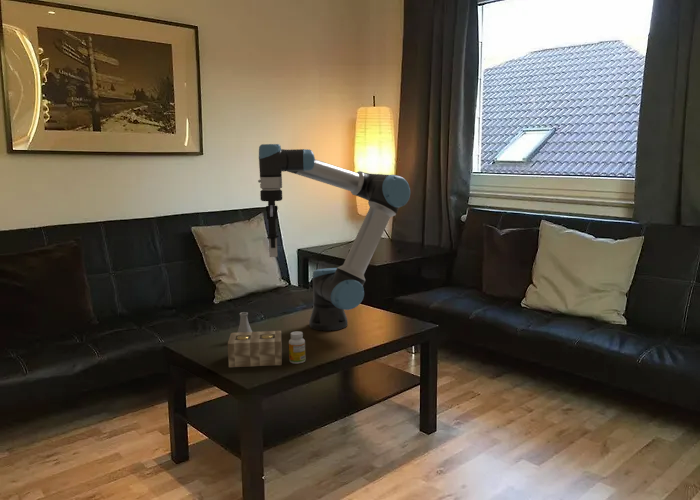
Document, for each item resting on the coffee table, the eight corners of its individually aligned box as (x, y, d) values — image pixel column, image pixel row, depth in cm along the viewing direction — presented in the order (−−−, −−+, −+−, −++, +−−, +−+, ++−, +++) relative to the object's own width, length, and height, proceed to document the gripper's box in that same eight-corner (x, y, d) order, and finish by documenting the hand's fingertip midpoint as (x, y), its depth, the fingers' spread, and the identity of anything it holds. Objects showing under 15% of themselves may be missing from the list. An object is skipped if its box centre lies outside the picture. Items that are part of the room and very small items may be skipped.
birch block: (281, 352, 215) (281, 330, 214) (281, 364, 203) (280, 341, 202) (232, 355, 214) (231, 332, 212) (228, 367, 202) (227, 343, 200)
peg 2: (274, 356, 211) (273, 334, 210) (274, 360, 207) (273, 337, 206) (262, 357, 211) (261, 334, 209) (262, 361, 207) (261, 338, 205)
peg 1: (250, 357, 210) (249, 335, 209) (249, 361, 206) (248, 338, 205) (238, 358, 210) (237, 335, 208) (237, 362, 206) (236, 339, 205)
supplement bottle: (289, 358, 209) (288, 330, 207) (305, 358, 210) (304, 330, 208) (289, 364, 204) (288, 335, 202) (305, 363, 204) (304, 335, 203)
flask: (250, 342, 227) (249, 316, 226) (231, 341, 229) (230, 315, 227) (257, 336, 234) (256, 311, 233) (239, 335, 236) (238, 310, 234)
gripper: (261, 188, 221) (263, 253, 224) (259, 190, 208) (261, 260, 212) (282, 187, 221) (284, 253, 225) (281, 190, 208) (284, 259, 212)
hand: (273, 256), depth 218 cm, fingers closed
